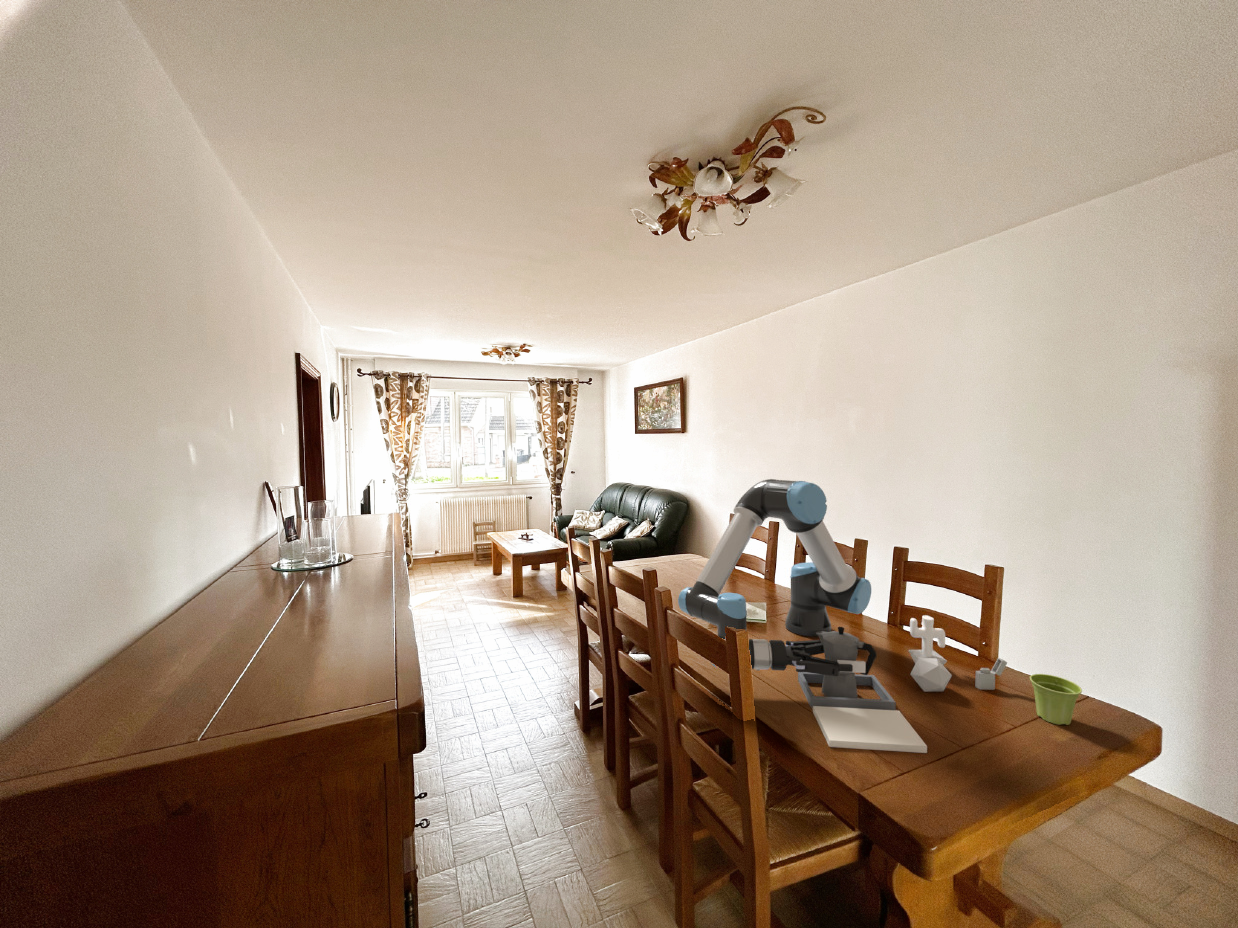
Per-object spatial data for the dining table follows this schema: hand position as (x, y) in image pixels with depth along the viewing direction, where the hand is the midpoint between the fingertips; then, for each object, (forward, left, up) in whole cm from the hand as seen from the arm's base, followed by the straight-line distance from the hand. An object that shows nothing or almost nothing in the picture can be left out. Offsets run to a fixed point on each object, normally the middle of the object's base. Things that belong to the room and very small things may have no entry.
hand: (858, 658), depth 130 cm
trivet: (+16, -3, -10) cm, 19 cm away
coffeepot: (0, -3, -10) cm, 11 cm away
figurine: (-19, +26, -10) cm, 33 cm away
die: (-6, +21, -10) cm, 24 cm away
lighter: (-8, +37, -10) cm, 39 cm away
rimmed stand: (0, -3, -10) cm, 11 cm away
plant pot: (+6, +43, -10) cm, 44 cm away
